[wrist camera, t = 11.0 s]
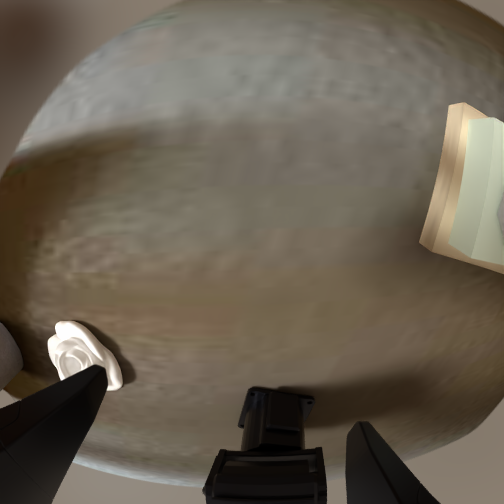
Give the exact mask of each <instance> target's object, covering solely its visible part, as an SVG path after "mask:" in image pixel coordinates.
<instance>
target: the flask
mask: <svg viewBox="0 0 504 504" xmlns="http://www.w3.org/2000/svg"><path fill="white" fill-rule="evenodd" d="M497 216H498V219H499V222H500V226H501V229H502V233H503V237H504V192H503V196H502V199H501V203H500V207H499V210H498V213H497Z"/></svg>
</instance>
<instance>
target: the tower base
mask: <svg viewBox="0 0 504 504" xmlns="http://www.w3.org/2000/svg"><path fill="white" fill-rule="evenodd" d="M481 118H489V117H487V116H486V115H484V114H483V113H481V112H479V111H478V110H476V109H475V108H473V107H471V106H470V105H468V104H466V103H464V102H463V103H458V104H453V105H449V109H448V117H447V125H446V131H445V138H444V144H443V149H442V155H441V160H440V165H439V169H438V174H437V178H436V183H435V187H434V191H433V195H432V199H431V203H430V206H429V210H428V214H427V217H426V221H425V224H424V227H423V231H422V234H421V237H420V240H419V243H420V244H422V245H423V246H424V247H426V248H427V249H429V250H430V251H431V252H434V253H438V254H441V255H445V256H448V257H451V258H455V259H458V260H461V261H464V262H468V263H471V264H474V265H477V266H480V267H484V268H487V269H490V270H493V271H496V272H499V273H502V274H504V265H500V264H495V263H491V262H486V261H482V260H477V259H472V258H470V257H468V256H467V255H465V254H464V253H462V252H461V251H459V250H457V249H456V248H454V247H453V246H451V245H450V244H448V241H449V238H450V234H451V230H452V226H453V222H454V217H455V213H456V208H457V204H458V199H459V193H460V188H461V182H462V176H463V169H464V162H465V154H466V145H467V135H468V121H469V120H470V119H481Z"/></svg>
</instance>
